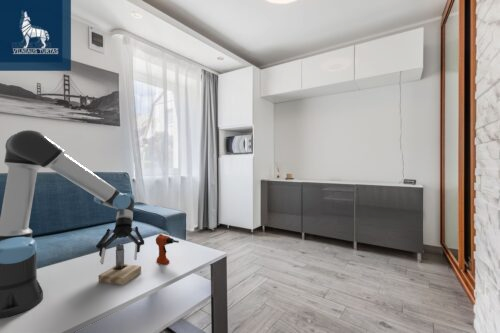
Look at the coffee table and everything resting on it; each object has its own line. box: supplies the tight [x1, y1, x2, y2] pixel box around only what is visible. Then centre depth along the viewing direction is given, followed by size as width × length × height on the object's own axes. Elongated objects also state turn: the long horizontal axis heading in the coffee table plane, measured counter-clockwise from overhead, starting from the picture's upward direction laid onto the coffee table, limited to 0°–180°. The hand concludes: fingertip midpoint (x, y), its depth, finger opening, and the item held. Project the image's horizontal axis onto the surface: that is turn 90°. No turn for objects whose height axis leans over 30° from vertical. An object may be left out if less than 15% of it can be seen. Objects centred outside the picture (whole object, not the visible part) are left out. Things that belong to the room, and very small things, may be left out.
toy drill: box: [155, 233, 180, 266], centre depth 120 cm, size 5×19×15 cm, turn 53°
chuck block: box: [98, 263, 142, 286], centre depth 107 cm, size 12×12×3 cm
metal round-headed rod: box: [115, 243, 125, 270], centre depth 110 cm, size 3×3×14 cm
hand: (118, 261), depth 108 cm, fingers open, 13 cm apart
